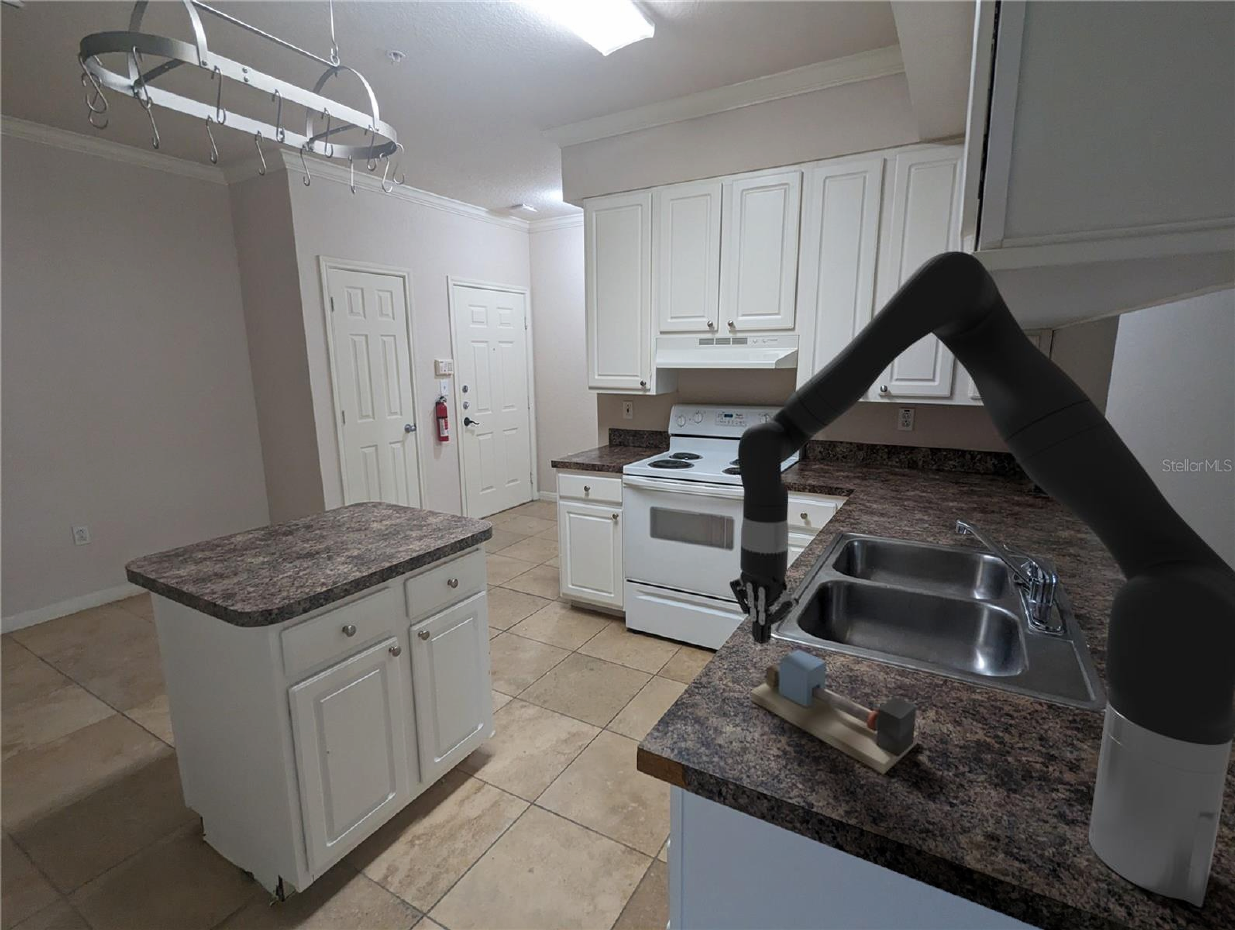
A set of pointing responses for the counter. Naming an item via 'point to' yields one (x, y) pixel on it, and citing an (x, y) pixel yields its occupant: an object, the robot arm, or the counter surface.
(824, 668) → the blue sleeve
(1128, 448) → the robot arm
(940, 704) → the counter surface
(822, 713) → the rail board
